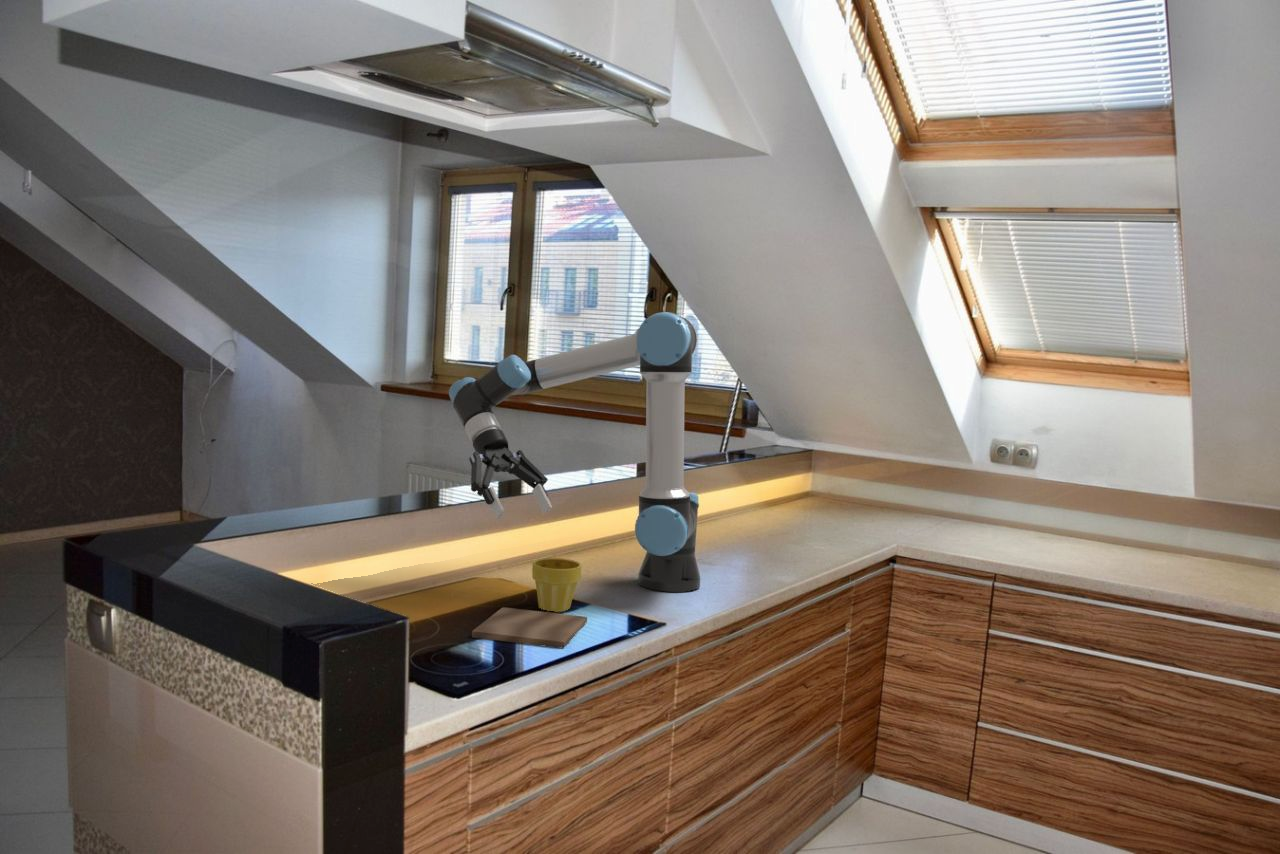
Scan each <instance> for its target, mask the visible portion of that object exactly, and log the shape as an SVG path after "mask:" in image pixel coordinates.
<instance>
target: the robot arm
mask: <svg viewBox="0 0 1280 854" xmlns="http://www.w3.org/2000/svg"><path fill="white" fill-rule="evenodd" d="M697 341H698V338H697V332H696V330H695V327H694V326H693V324H692V323H691V321H689V320H688V319H686V318H685V317H684V316H681V315H678V313H677V314H676V313H674V312H667V311H662V312H657V313H653V314H652V315H650V316H649V317H647V318H645V319H644V320H643V322H642V323H641V324H640V325H639V327H638V328H637V329H636V330H635V332H634V333H633V334H630V335H626V336H622V337H618V338H614V339H610V340H606V341H603V342H598V343H594V344H590V345H586V346H583V347H580V348H575V349H572V350H568V351H563V352H559V353H555V354H552V355H549V356H544V357H543V356H542V357H541V358H540V357H539V358H536V359H530V360H528V361H523V360H522V358H521V357H519V356H518V355H516V354H510V355H508V356H507V357H505V358H504V359H502V360H500V361H499V362H498V363H497V364H496V365H494V366H493V367H492V368H491V369H489V370H488V371H487V372H485V373H484V374H483V375H482V376H480V377H479V378H477V379H475V378H474V377H470V376H469V377H468V376H467V377H463V378H462V379H460V380H459V379H458V380H456V381H455V382H454V383H452V385H451V386H450V388H449V389H448V395H449V398H450V401H451V403H452V408H453V409H454V411H455V412H456V414H457V416H458V418H459V420H460V422H461V425H462V426H463V428H464V430H465V432H466V434H467V436H468V438H469V440H470V442H471V444H472V447H473V450H474V452H473V453H472V455H470V457H469V458H468V460H469V462H470V465H471V472H470V473H471V474H470V475H471V478H470V490H471V491H472V492H474V493H475V492H476V493H477V496H480V497H481V496H482V497H483V499H484V502H485V503H486V504H487V505H489V508H490V509H491V511H492V514H493V515H494V517H495V519H496V520H499V519H500V518H501V516H502V515H503V514H504V513H505V509H504V507H503V505H502V503H501V501H500V499H499V496H498V495H497V492H496V490H495V489H494V486H490V484H491V482H492V478H493V475H494V473H500V472H503V473H508V474H510V475H514V476H515V477H516V478H518V479H520V480H521V481H522V482H523V483H526V484H527V485H528V486H529V487H531V489H532V490H531V492H532V494H533V496H534V499H535V500H536V502H537V504H538V505H539V507H540V509H541V511H542V513H543V515H547V514H548V513H549V512H550V510H551V509H552V508H553V505H552V503H551V501H550V500H549V495H548V492H547V490H546V489H545V486H544V485H545V484H546V483H547V482H548V480H549V479H548V478H547V477H546V475H544V474H543V473H542V471H540V470H539V469H538V468H537V467H536V465H534V464H533V462H531V461H530V459H528V458H527V457H526V456H525V454H524V452H523V451H522V450H520V449H518V450H517V451H516V452H512V451H511V450H510V449H509V448H510V447H509V441H508V439H507V437H506V435H505V433H504V431H503V430H502V428H501V425H500V423H499V421H498V420H497V418H496V416H495V414H494V410H493V408H496V407H497V406H498V405H499V404H501V403H502V402H504V401H505V400H506V399H508V398H509V397H510V396H517V395H520V396H521V395H522V396H524V395H529V394H532V393H534V392H537V391H541V390H544V389H545V390H546V389H548V388H553V387H557V386H561V385H565V384H568V383H573V382H577V381H582V380H585V379H590V378H594V377H598V376H602V375H605V374H610V373H614V372H618V371H621V370H626V369H631V368H635V367H639V374H640V375H641V376H642V377H643V379H644V380H645V381H646V392H645V393H646V398H645V399H646V403H645V404H646V407H645V408H646V411H645V413H646V415H645V417H646V418H645V419H646V420H645V487H644V488H643V489H642V490H641V491H640V492H639V494H638V516H637V518H636V520H635V524H634V533H635V537H636V540H637V542H638V544H639V545H640V547H641V548H642V549H643V550H645V551H646V553H645V556H644V558H643V560H642V564H641V565H640V569H639V571H638V574H637V584H638V585H640V586H641V587H643V588H646V589H649V590H655V591H660V592H667V593H668V592H669V593H671V592H672V593H683V592H685V593H686V591H687V592H692V591H691V590H693V591H696V590H695V589H697V590H699V589H700V588H701V574H700V571H699V566H698V562H697V558H696V542H697V527H698V515H699V514H698V512H699V511H698V510H699V508H700V503H699V495H698V494H697V493H696V492H690V491H688V490H687V489H686V488H685V485H684V483H685V482H684V481H685V480H684V477H685V476H684V475H685V474H684V473H685V399H686V398H685V395H686V393H685V392H686V391H685V390H686V389H685V388H686V386H685V385H686V380H687V379H688V378H689V377H690V376H691V375H692V372H693V370H692V368H693V367H692V364H693V363H692V362H693V354H694V352H695V350H696V346H697V343H698V342H697ZM482 463H483V464H484V465H485V466H486V467H485V470H484V474H483V477H482ZM699 587H700V588H699Z"/></svg>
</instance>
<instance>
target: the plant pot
mask: <svg viewBox="0 0 1280 854" xmlns="http://www.w3.org/2000/svg"><path fill="white" fill-rule="evenodd" d="M531 571H532V575H531V577H532V580H534V581H535V588H536V593H537V594H536V595H537V596H536V598H537V604H538V609H540V608H541V609H540V610H542V609H543V610H542V611H544V610H547V611H546V612H549V611H554V612H553V613H561V612H563V613H564V612H567V611H569V610H570V609H571V605H572V602H573V601H572V600H573V598H574V595H575V592H576V591H575V590H576V588H577V584H578V582H579V581H580V580H581V575H582V564H581V563H580V562H578V561H576V560H573V559H569V558H559V557H544V558H540V559H535V560H534V561H533V562H532V569H531ZM568 609H569V610H568ZM566 610H567V611H566Z"/></svg>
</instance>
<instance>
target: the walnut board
mask: <svg viewBox="0 0 1280 854" xmlns="http://www.w3.org/2000/svg"><path fill="white" fill-rule="evenodd" d="M586 622H587V623H588V616H582V615H574V614H566V613H559V612H549V611H539V610H532V609H531V610H529V609H522V608H521V609H520V608H514V607H513V608H512V607H505V606H504V607H501V608H500V609H499V610H497V611H496V612H495V613H493V614H492V615H491V616H490V617H488V618H487V619H486V620H484V621H483V622H482V623H480V624H479V625H478V626H477V627H476V628H474V629H473V630H472V631H471V638H475V639H483V640H491V641H499V642H507V643H508V642H509V643H514V644H525V645H532V646H533V645H534V646H540V645H545V646H544V647H548V646H553V647H552V648H557V647H562V648H561V649H565V648H566V647H567V646H568V645H569V643H570V642H571V641H572V640H573V639H574V638H575V637H576V635H577V634H578V633H579V632H580V631H581V630H582V629H583V628H584V627H585V625H586V624H587V623H586ZM585 623H586V624H585ZM581 628H582V629H581ZM580 629H581V630H580ZM579 630H580V631H579ZM578 631H579V632H578ZM577 632H578V633H577ZM576 633H577V634H576ZM575 634H576V635H575ZM574 636H575V637H574ZM573 637H574V638H573ZM572 638H573V639H572ZM571 639H572V640H571ZM570 640H571V641H570ZM569 641H570V642H569ZM567 644H568V645H567ZM566 645H567V646H566ZM565 646H566V647H565ZM564 647H565V648H564Z"/></svg>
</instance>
